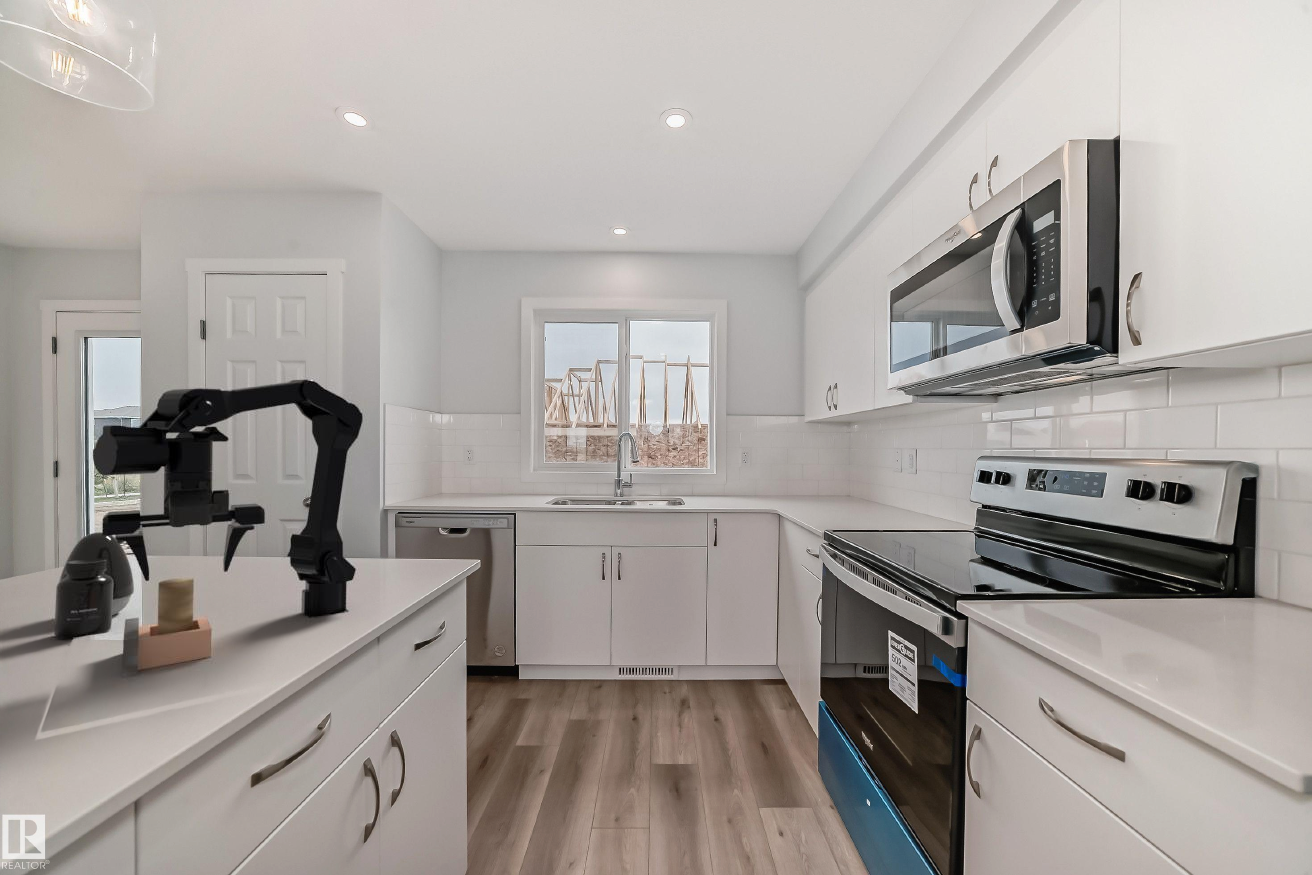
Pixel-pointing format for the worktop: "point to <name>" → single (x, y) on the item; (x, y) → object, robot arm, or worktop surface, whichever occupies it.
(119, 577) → the pump dispenser
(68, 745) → the worktop surface
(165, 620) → the dowel
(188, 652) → the slider block
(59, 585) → the supplement bottle
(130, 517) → the robot arm
